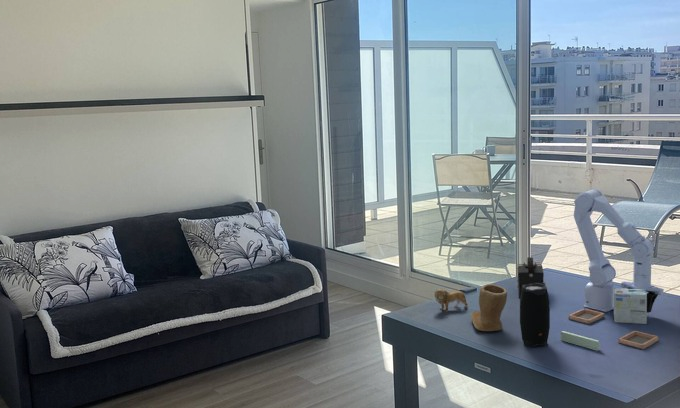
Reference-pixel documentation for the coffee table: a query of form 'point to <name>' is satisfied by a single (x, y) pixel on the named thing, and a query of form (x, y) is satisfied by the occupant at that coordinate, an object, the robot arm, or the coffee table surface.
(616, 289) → the light bulb box
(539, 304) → the portable speaker
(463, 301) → the lion figurine
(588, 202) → the robot arm
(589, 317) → the square frames and block
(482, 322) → the tan boot
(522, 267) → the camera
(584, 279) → the coffee table surface
